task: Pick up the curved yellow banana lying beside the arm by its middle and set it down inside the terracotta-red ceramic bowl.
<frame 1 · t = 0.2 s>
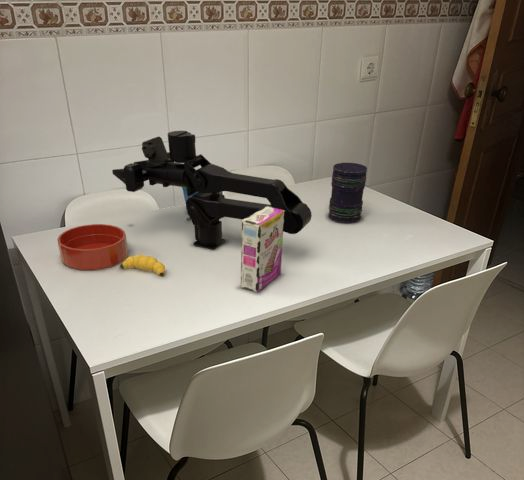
hand: (123, 167, 140), 17 cm above the table, tool horizontal, fingers open, 9 cm apart
storage jar: (344, 218, 159), on the table
bowl: (95, 256, 133), on the table
snack cup: (200, 213, 159), on the table
candy bar box: (261, 282, 124), on the table
banana: (148, 265, 128), point 1 cm above the table, tilted 39°
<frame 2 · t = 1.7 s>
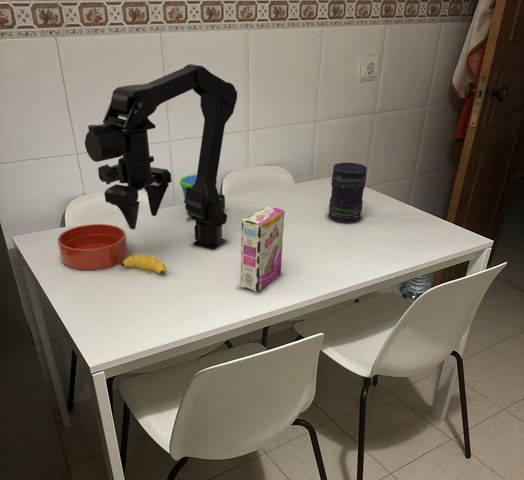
hand: (143, 222, 122), 12 cm above the table, tool pointing down, fingers open, 9 cm apart
banana: (148, 267, 129), on the table, tilted 25°
everything else where it was.
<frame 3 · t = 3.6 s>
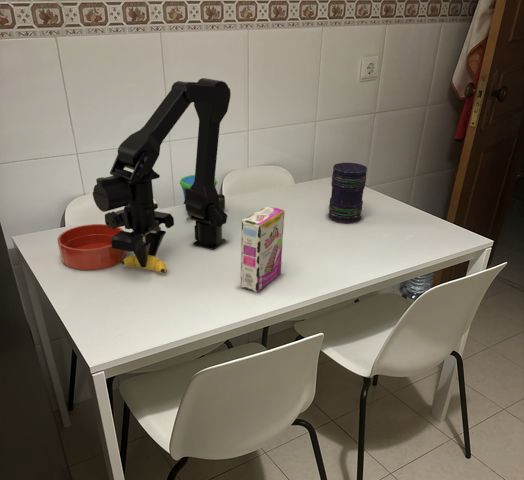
hand: (147, 263, 128), 1 cm above the table, tool pointing down, fingers closed on banana, 3 cm apart
banana: (149, 267, 129), on the table, tilted 16°, touching gripper
everything else where it was.
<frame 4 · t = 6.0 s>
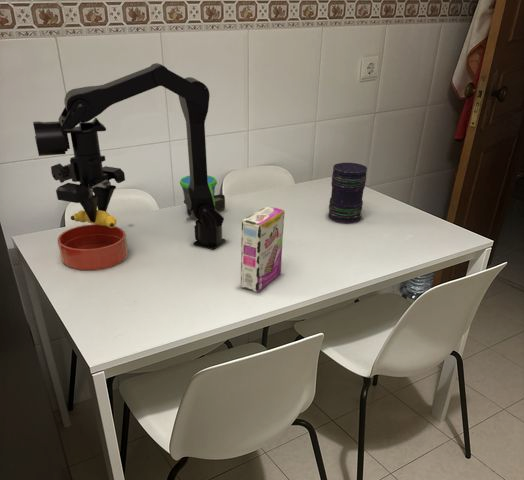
hand: (97, 219, 126), 10 cm above the table, tool pointing down, fingers closed on banana, 3 cm apart
banana: (99, 223, 127), point 9 cm above the table, tilted 16°, touching gripper
everything else where it was.
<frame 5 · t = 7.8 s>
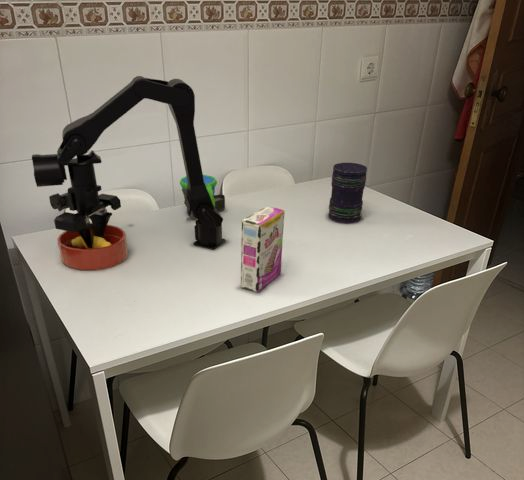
hand: (94, 245, 131), 3 cm above the table, tool pointing down, fingers closed on banana, 3 cm apart
banana: (96, 248, 132), point 2 cm above the table, tilted 16°, touching gripper
everything else where it was.
when the fingers open (2 cm above the table, at t = 8.5 s): banana stays where it is, resting on bowl.
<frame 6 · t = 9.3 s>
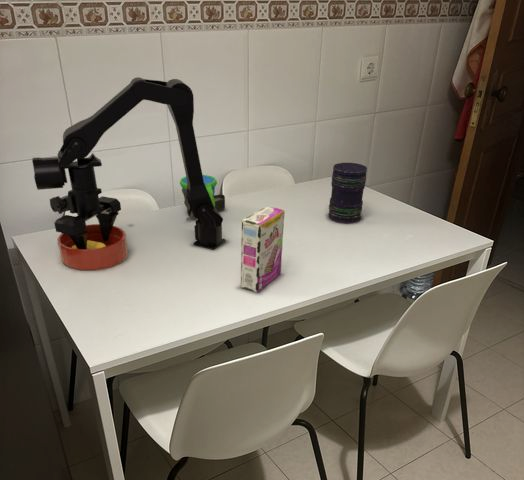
hand: (94, 247, 132), 2 cm above the table, tool pointing down, fingers open, 9 cm apart
banana: (97, 252, 133), point 1 cm above the table, tilted 29°, touching bowl
everything else where it was.
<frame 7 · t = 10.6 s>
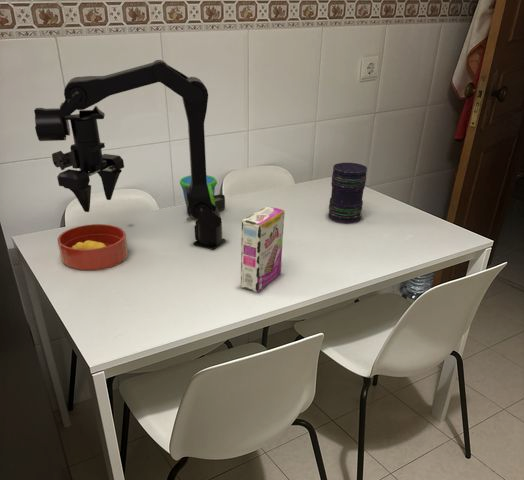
hand: (98, 205, 130), 12 cm above the table, tool pointing down, fingers open, 9 cm apart
nothing on the table moved.
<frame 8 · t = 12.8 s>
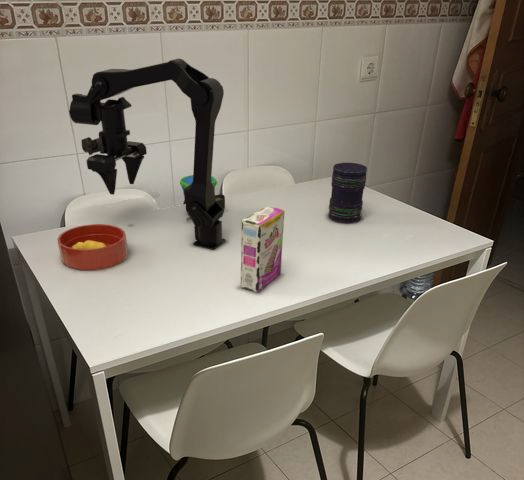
hand: (122, 189, 140), 12 cm above the table, tool pointing down, fingers open, 9 cm apart
nothing on the table moved.
at the end: banana inside the target area in the bowl (0.9 cm from its centre), point 0.8 cm above the bowl's base; the gripper is holding nothing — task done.
